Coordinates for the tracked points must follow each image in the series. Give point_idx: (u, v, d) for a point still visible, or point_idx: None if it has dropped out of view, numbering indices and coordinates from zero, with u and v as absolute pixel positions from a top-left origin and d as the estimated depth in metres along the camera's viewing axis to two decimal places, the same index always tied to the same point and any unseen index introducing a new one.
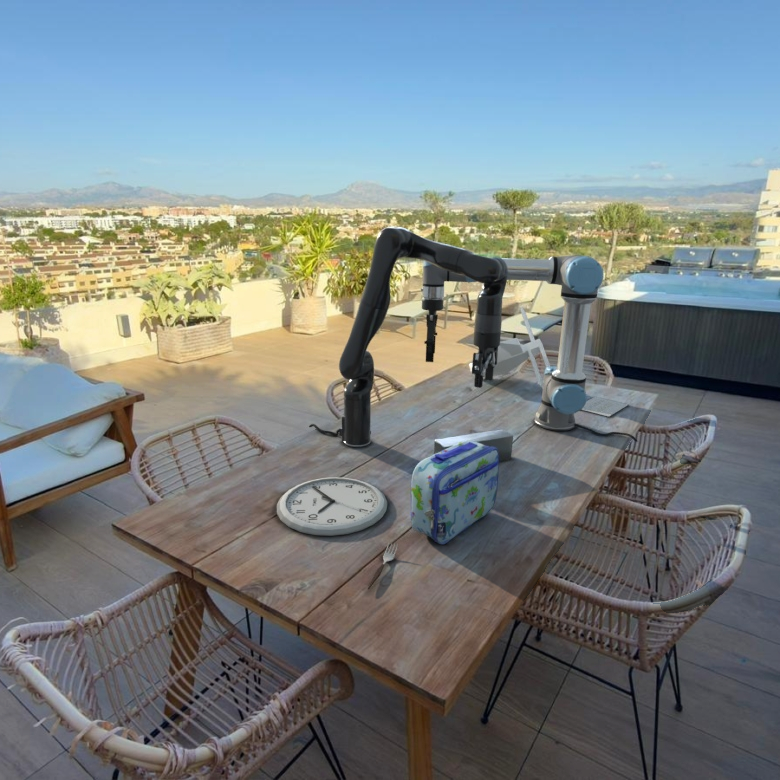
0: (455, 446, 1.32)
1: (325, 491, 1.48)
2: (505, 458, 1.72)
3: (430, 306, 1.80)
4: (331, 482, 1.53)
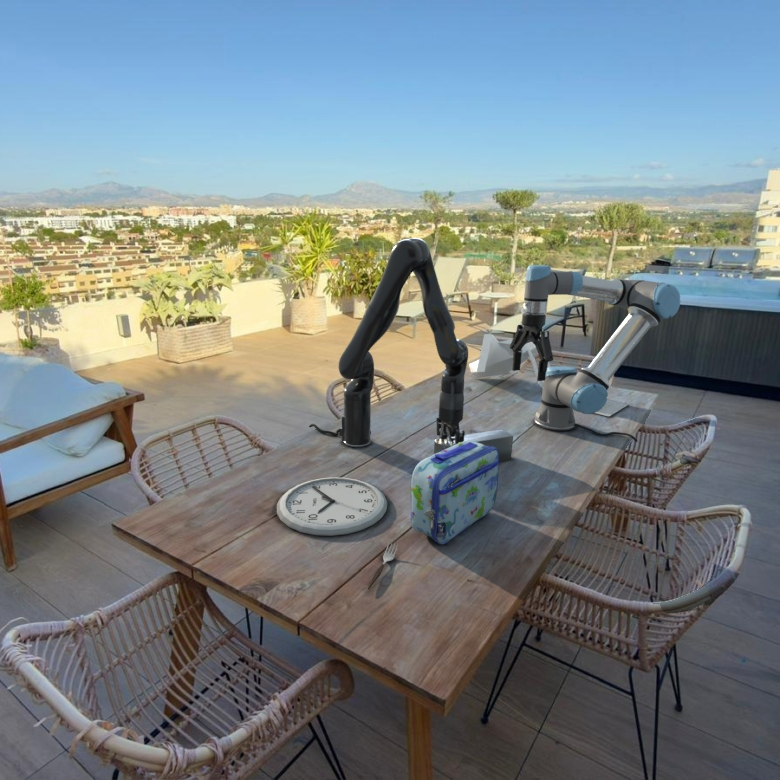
0: (455, 446, 1.32)
1: (325, 491, 1.48)
2: (505, 458, 1.72)
3: (539, 322, 1.70)
4: (331, 482, 1.53)
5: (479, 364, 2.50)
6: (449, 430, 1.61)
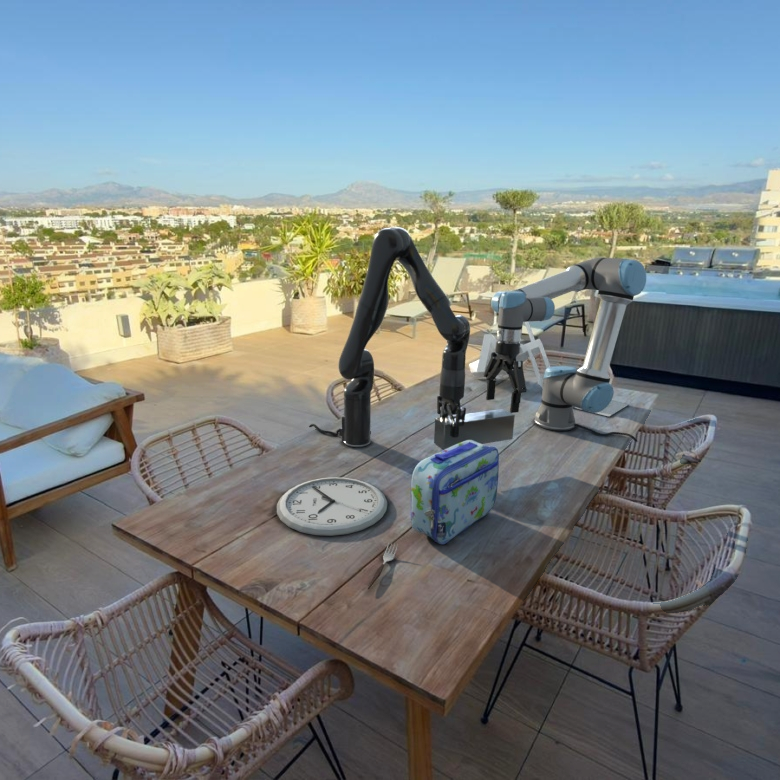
0: (455, 446, 1.32)
1: (325, 491, 1.48)
2: (506, 438, 1.70)
3: (513, 351, 1.61)
4: (331, 482, 1.53)
5: (479, 364, 2.50)
6: (450, 408, 1.59)
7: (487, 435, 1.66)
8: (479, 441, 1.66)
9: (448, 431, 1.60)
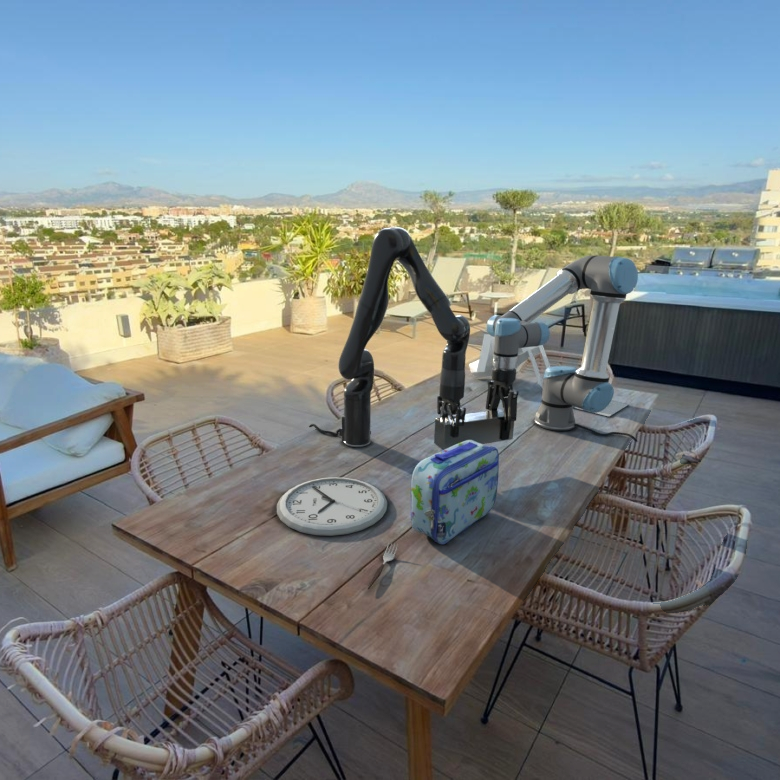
0: (455, 446, 1.32)
1: (325, 491, 1.48)
2: None
3: (509, 378, 1.63)
4: (331, 482, 1.53)
5: (479, 364, 2.50)
6: (450, 408, 1.59)
7: (487, 435, 1.66)
8: (479, 441, 1.66)
9: (448, 431, 1.60)
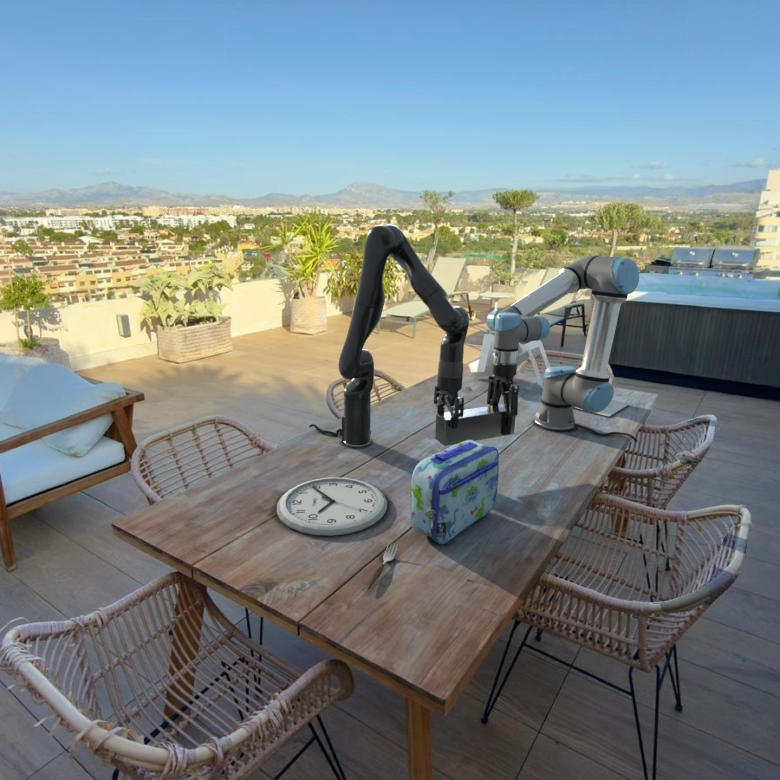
0: (455, 446, 1.32)
1: (325, 491, 1.48)
2: None
3: (510, 373, 1.62)
4: (331, 482, 1.53)
5: (479, 364, 2.50)
6: (448, 399, 1.58)
7: (488, 430, 1.66)
8: (480, 436, 1.65)
9: (449, 426, 1.59)
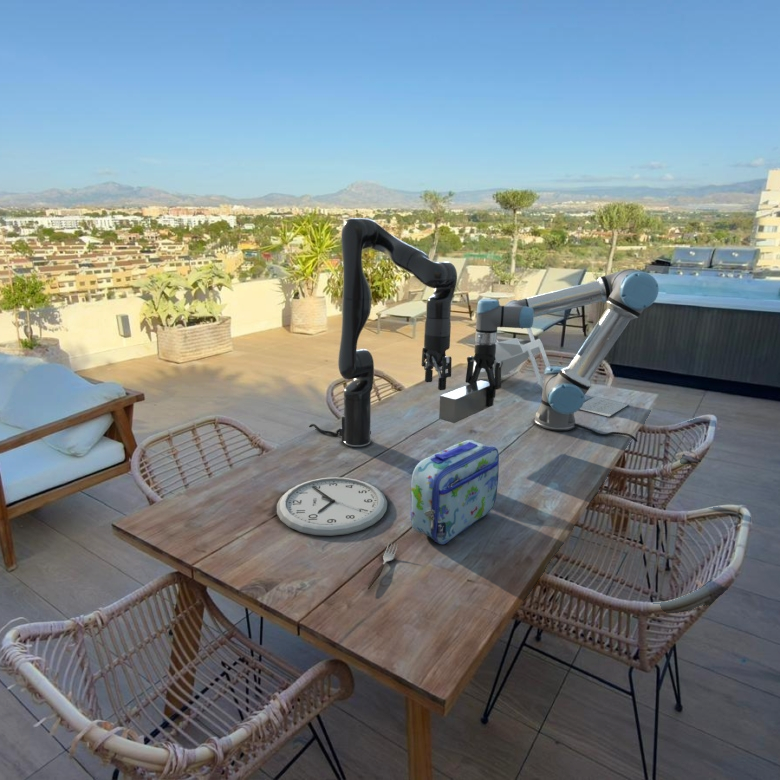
0: (455, 446, 1.32)
1: (325, 491, 1.48)
2: None
3: (493, 351, 1.85)
4: (331, 482, 1.53)
5: None
6: (435, 359, 1.52)
7: (479, 404, 1.87)
8: (475, 410, 1.85)
9: (457, 404, 1.75)
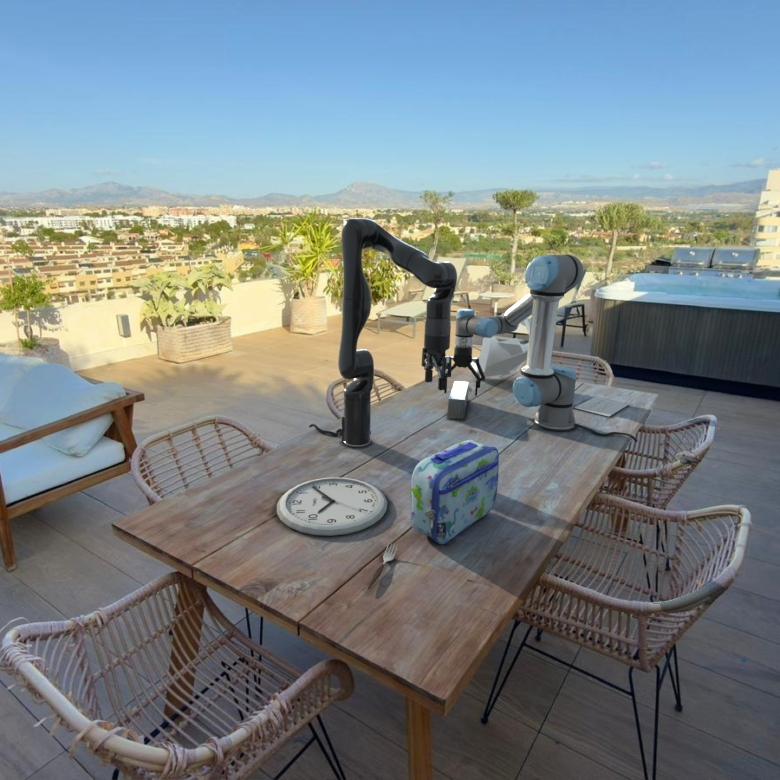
0: (455, 446, 1.32)
1: (325, 491, 1.48)
2: (467, 400, 2.29)
3: (471, 352, 2.21)
4: (331, 482, 1.53)
5: None
6: (435, 359, 1.52)
7: (466, 401, 2.22)
8: None
9: (464, 404, 2.07)
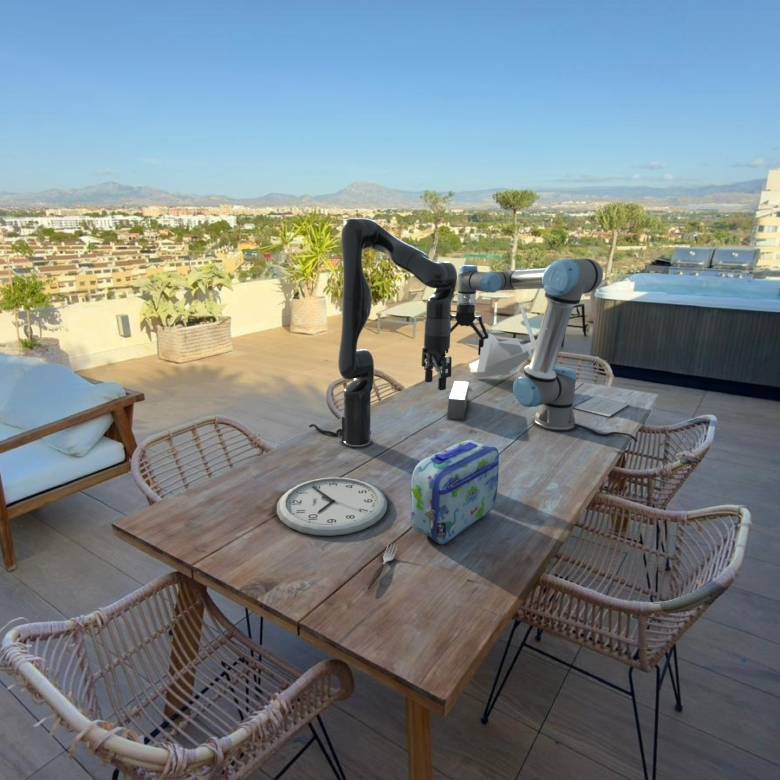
0: (455, 446, 1.32)
1: (325, 491, 1.48)
2: (467, 400, 2.29)
3: (474, 309, 2.16)
4: (331, 482, 1.53)
5: (479, 364, 2.50)
6: (435, 359, 1.52)
7: (466, 401, 2.22)
8: None
9: (464, 404, 2.07)
